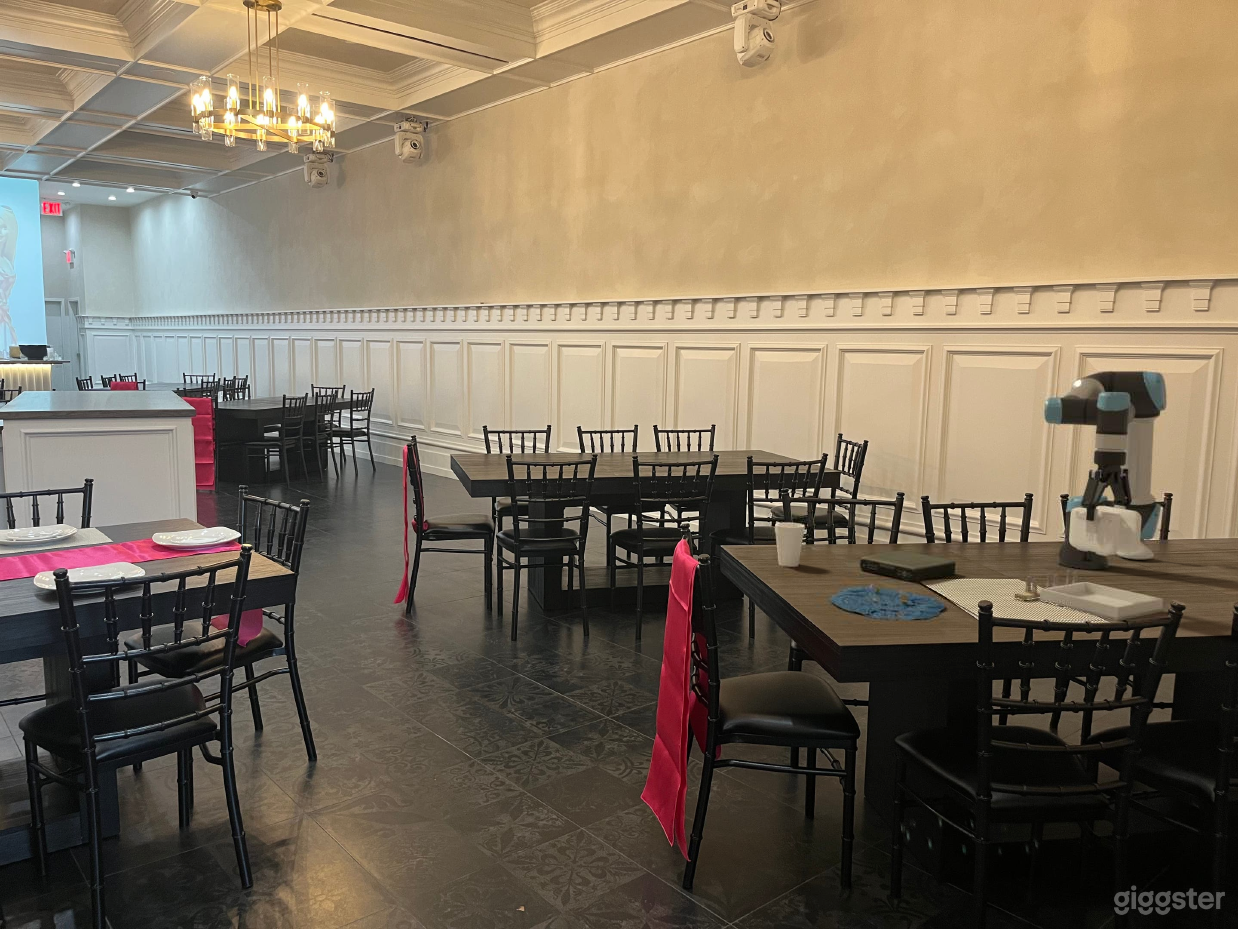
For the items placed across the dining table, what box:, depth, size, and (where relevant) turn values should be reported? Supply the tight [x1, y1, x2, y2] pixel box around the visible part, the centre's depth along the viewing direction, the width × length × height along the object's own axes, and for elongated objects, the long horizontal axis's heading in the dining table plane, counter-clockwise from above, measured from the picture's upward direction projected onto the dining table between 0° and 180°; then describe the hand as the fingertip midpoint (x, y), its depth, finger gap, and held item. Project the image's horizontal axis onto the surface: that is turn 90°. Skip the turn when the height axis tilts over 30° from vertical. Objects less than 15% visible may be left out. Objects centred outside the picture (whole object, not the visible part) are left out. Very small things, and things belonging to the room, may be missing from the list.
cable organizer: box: [1069, 506, 1141, 556], centre depth 244 cm, size 15×11×12 cm
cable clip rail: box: [1014, 569, 1079, 600], centre depth 258 cm, size 28×3×6 cm, turn 120°
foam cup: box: [774, 522, 806, 568], centre depth 294 cm, size 10×9×13 cm
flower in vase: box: [1116, 539, 1155, 561], centre depth 312 cm, size 13×11×25 cm
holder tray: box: [1039, 581, 1164, 622], centre depth 246 cm, size 20×22×4 cm
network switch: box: [859, 549, 956, 583], centre depth 285 cm, size 23×23×5 cm
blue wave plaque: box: [829, 583, 946, 621], centre depth 244 cm, size 30×30×5 cm
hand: (1104, 531), depth 244 cm, fingers closed on cable organizer, 11 cm apart
